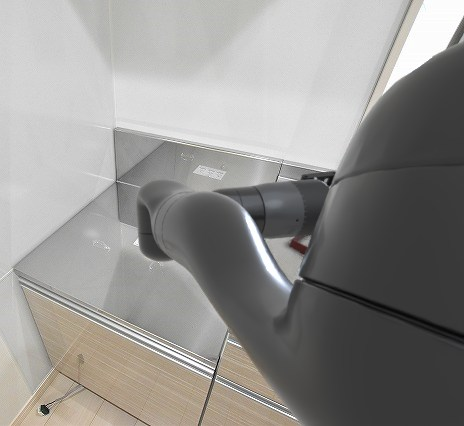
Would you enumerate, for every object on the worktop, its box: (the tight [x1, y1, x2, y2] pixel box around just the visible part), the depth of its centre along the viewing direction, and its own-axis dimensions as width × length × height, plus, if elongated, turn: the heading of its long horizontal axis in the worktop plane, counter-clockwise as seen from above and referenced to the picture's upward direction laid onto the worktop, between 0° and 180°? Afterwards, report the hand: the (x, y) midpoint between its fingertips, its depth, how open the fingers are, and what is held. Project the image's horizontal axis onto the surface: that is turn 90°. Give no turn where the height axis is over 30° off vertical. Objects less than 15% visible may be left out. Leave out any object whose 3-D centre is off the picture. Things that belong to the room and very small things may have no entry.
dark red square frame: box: [289, 236, 308, 256], centre depth 79 cm, size 10×10×2 cm
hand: (395, 199), depth 41 cm, fingers open, 8 cm apart
